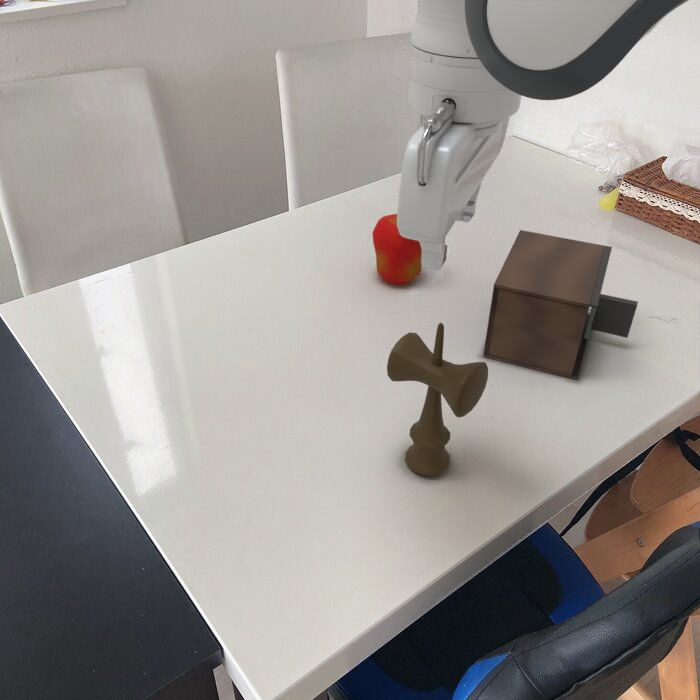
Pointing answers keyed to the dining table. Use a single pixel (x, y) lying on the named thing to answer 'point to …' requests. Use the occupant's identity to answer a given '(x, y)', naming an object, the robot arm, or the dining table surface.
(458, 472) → the dining table surface
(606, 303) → the door
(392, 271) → the apple
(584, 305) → the cabinet
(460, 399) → the kendama
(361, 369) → the dining table surface
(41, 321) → the dining table surface
